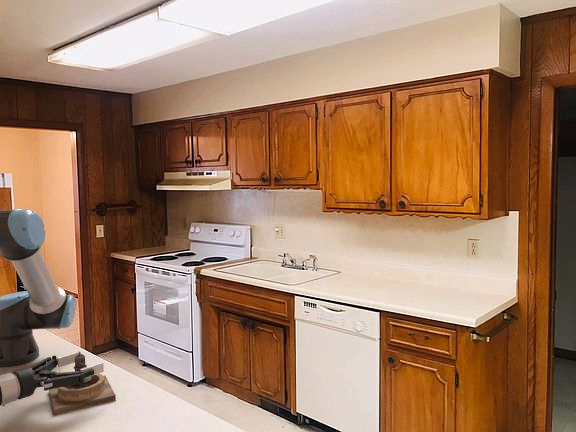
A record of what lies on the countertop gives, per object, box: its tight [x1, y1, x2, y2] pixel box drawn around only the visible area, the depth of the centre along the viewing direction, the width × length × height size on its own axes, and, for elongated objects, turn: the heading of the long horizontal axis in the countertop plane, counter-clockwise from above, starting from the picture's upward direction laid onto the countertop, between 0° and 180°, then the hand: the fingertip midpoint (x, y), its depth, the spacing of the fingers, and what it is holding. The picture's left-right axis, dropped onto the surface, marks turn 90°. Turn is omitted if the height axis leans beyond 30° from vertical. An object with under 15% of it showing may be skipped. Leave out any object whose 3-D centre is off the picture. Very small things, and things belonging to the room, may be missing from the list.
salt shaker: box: [72, 351, 92, 389], centre depth 141 cm, size 6×6×12 cm
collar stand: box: [48, 373, 117, 416], centre depth 141 cm, size 16×16×4 cm
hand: (90, 361), depth 143 cm, fingers open, 13 cm apart
